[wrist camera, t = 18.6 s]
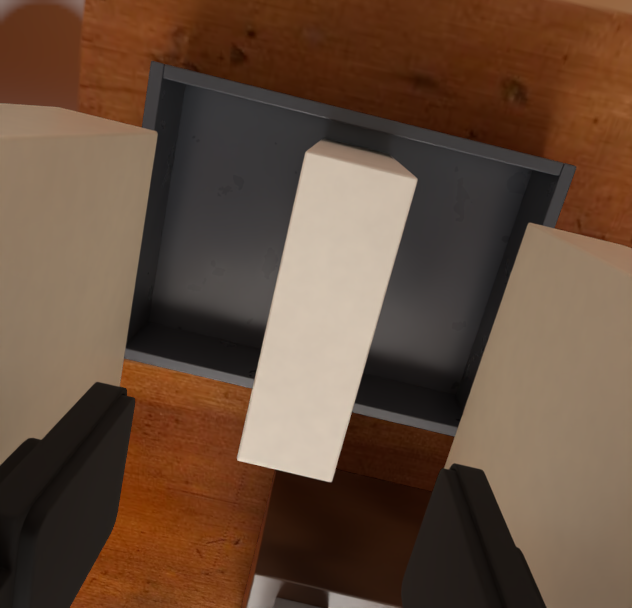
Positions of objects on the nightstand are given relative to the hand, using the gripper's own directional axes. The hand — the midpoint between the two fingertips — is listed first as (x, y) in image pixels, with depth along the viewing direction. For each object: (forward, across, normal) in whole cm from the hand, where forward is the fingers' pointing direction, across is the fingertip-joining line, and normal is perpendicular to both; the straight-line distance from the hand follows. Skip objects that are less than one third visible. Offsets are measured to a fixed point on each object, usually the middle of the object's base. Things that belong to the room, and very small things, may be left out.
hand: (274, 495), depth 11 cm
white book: (+22, -1, -1) cm, 22 cm away
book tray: (+22, -1, -1) cm, 22 cm away
